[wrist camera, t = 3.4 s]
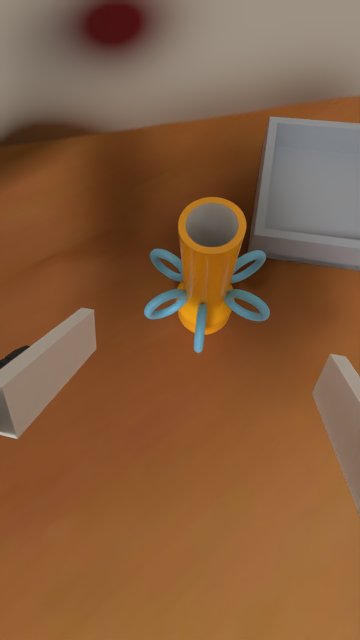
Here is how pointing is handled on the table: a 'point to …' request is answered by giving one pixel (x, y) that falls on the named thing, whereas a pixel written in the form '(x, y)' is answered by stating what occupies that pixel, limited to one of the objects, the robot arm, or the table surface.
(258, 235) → the tray
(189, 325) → the cylinder
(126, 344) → the table surface
